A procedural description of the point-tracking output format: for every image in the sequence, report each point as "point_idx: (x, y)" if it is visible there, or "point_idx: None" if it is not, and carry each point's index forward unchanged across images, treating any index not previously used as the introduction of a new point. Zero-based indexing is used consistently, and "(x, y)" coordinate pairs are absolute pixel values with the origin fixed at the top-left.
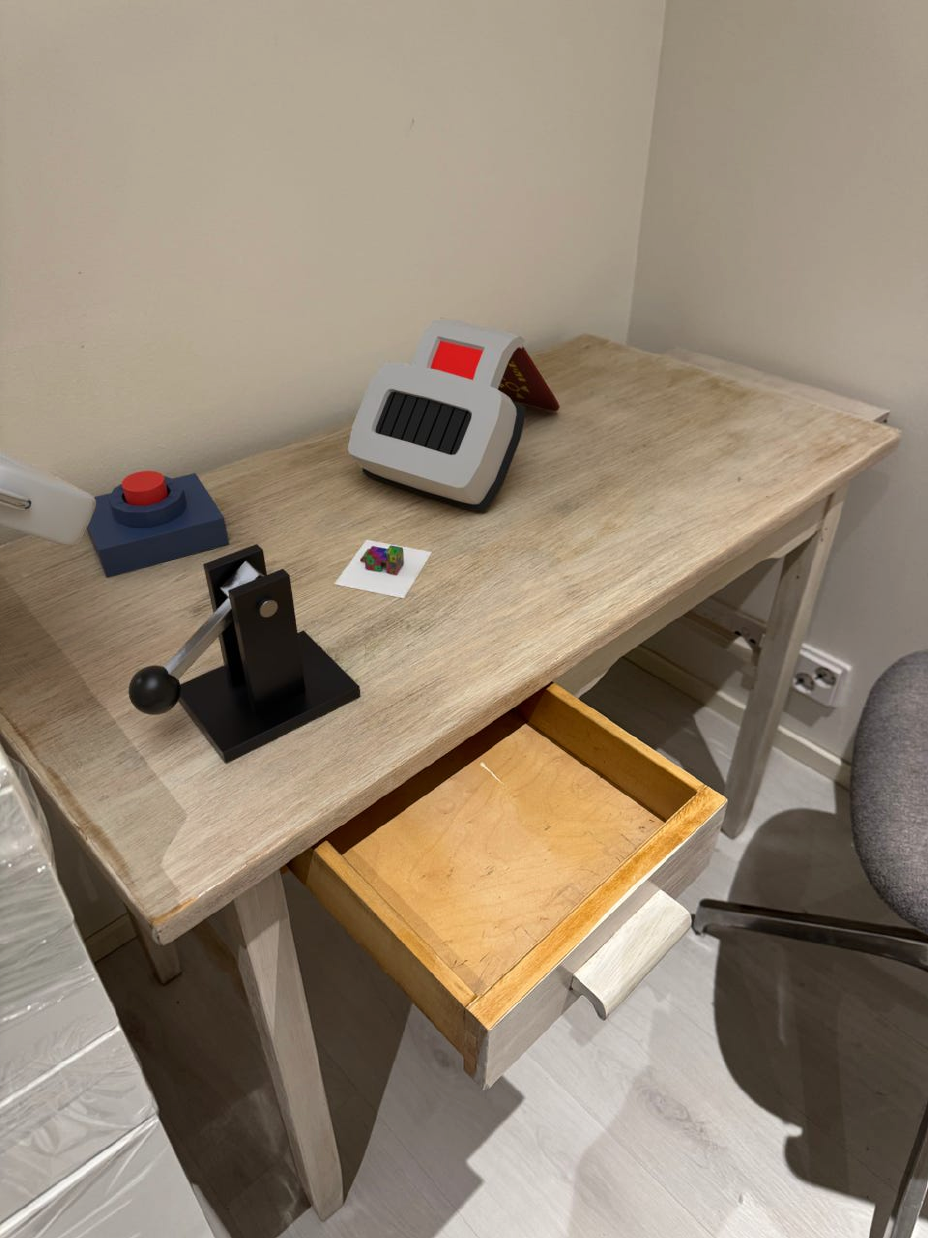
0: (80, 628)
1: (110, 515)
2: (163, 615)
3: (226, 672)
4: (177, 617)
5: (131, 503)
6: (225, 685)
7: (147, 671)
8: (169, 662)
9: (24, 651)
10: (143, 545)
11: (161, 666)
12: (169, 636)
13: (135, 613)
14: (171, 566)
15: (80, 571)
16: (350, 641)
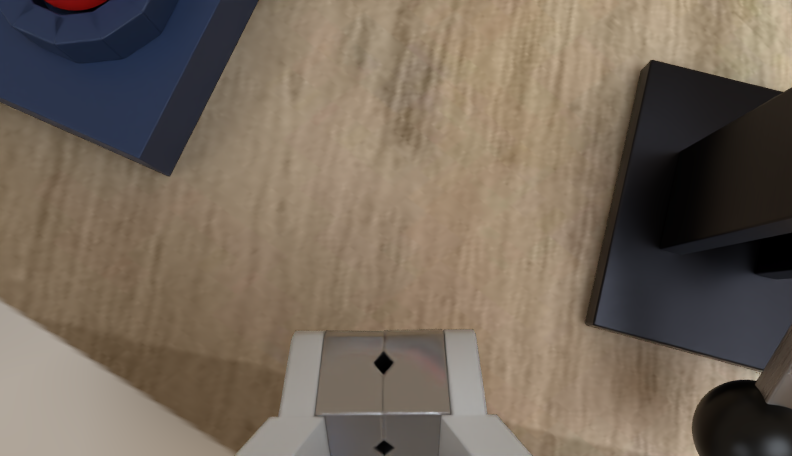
0: (266, 310)
1: (43, 55)
2: (365, 183)
3: (675, 247)
4: (392, 170)
5: (79, 7)
6: (665, 259)
7: (781, 450)
8: (783, 392)
9: (238, 423)
10: (190, 78)
11: (768, 408)
12: (428, 217)
13: (315, 213)
14: (246, 71)
15: (104, 195)
16: (706, 21)
